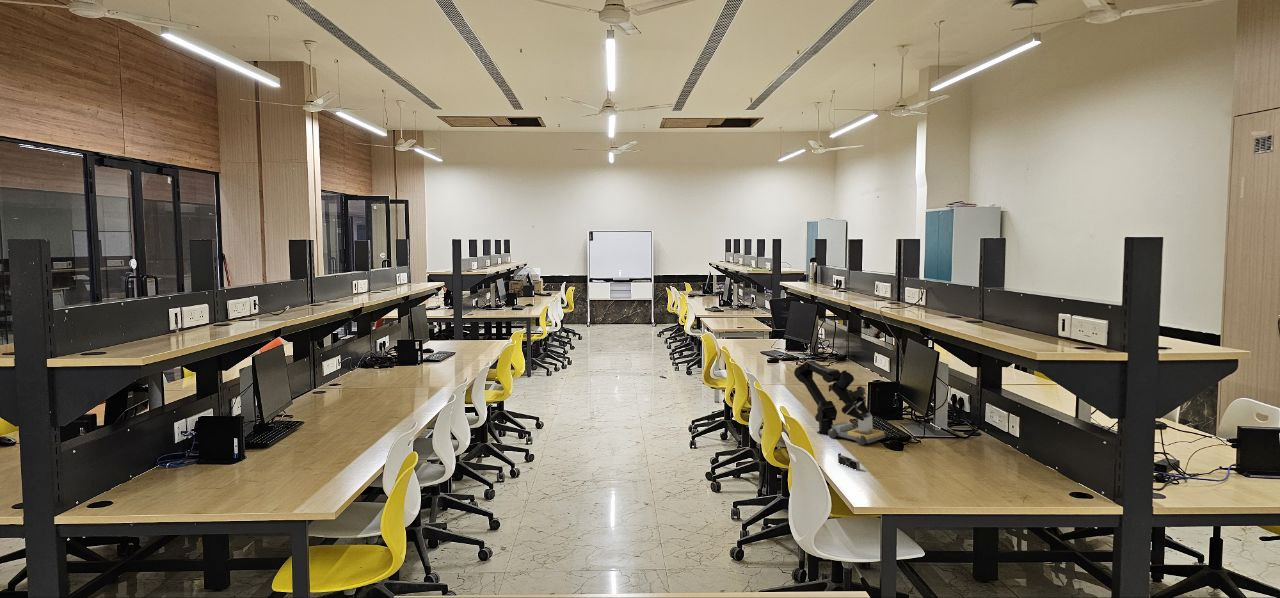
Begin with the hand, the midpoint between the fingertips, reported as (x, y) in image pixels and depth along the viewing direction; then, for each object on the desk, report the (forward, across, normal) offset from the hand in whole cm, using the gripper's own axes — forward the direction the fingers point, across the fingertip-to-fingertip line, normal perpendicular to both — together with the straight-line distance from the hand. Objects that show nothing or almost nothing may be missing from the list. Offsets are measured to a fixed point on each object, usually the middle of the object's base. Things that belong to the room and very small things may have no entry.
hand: (866, 417), depth 326 cm
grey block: (+5, 0, +6) cm, 8 cm away
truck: (+4, +2, +12) cm, 13 cm away
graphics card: (+12, -40, +4) cm, 42 cm away
